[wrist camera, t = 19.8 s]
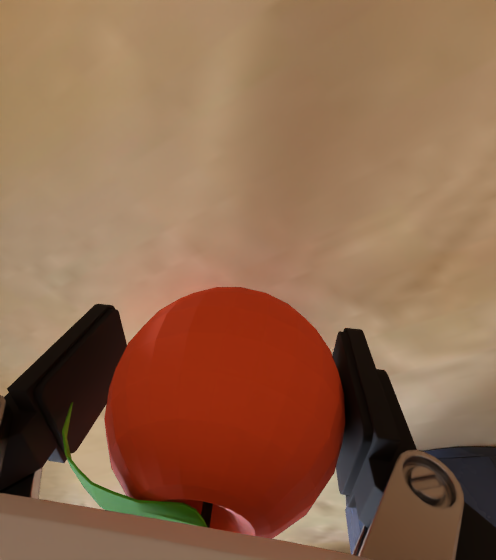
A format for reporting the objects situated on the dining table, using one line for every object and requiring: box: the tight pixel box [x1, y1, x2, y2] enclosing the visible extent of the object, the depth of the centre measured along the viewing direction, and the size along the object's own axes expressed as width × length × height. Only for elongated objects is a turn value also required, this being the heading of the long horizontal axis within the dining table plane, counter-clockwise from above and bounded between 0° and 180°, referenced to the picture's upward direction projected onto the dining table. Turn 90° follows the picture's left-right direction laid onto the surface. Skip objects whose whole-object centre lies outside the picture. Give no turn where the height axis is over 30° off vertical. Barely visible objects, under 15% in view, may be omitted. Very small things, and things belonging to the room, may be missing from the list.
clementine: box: [62, 287, 345, 539], centre depth 9 cm, size 8×7×7 cm
